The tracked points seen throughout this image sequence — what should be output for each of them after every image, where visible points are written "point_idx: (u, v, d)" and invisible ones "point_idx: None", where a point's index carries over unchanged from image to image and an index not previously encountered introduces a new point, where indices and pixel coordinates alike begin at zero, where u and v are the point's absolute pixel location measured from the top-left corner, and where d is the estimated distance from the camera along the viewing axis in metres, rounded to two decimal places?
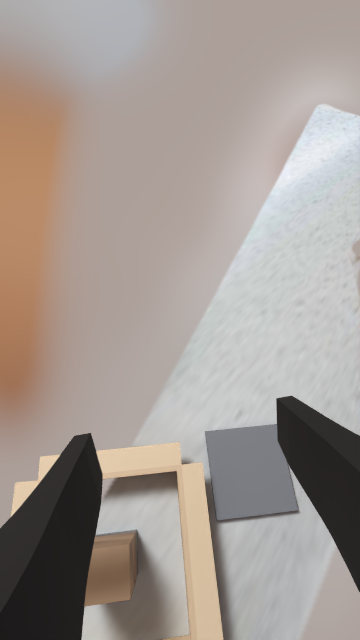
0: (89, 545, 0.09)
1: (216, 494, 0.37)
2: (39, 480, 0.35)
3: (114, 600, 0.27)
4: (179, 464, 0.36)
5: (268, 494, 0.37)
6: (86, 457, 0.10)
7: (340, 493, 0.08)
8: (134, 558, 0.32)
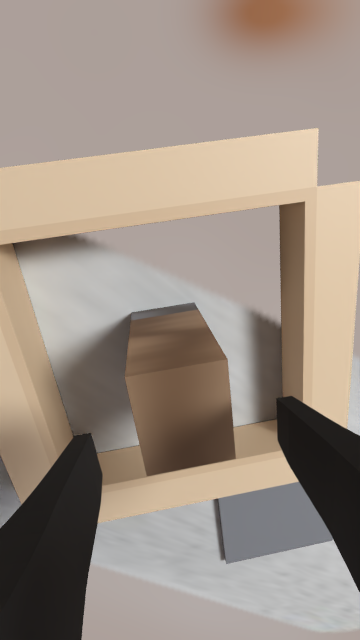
0: (89, 545, 0.09)
1: None
2: (316, 190, 0.15)
3: (143, 451, 0.13)
4: None
5: (246, 534, 0.26)
6: (86, 457, 0.10)
7: (340, 493, 0.08)
8: None
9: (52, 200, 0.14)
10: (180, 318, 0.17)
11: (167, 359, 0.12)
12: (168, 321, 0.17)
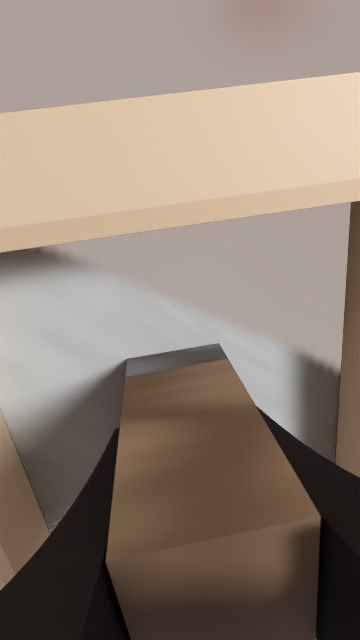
0: None
1: None
2: None
3: None
4: None
5: None
6: None
7: None
8: None
9: None
10: (202, 379, 0.11)
11: (194, 501, 0.06)
12: (184, 383, 0.10)
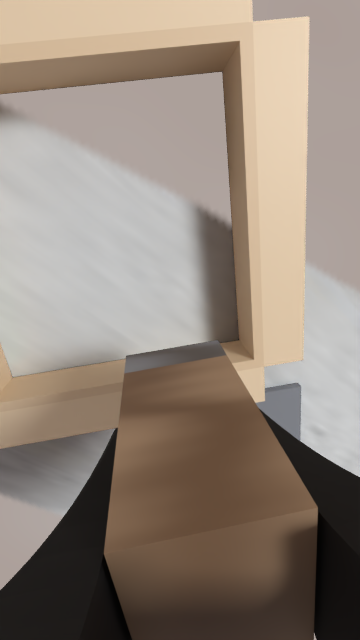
0: None
1: None
2: (252, 27, 0.13)
3: None
4: (264, 363, 0.18)
5: None
6: None
7: None
8: None
9: None
10: (201, 374, 0.11)
11: (192, 494, 0.06)
12: (183, 379, 0.10)
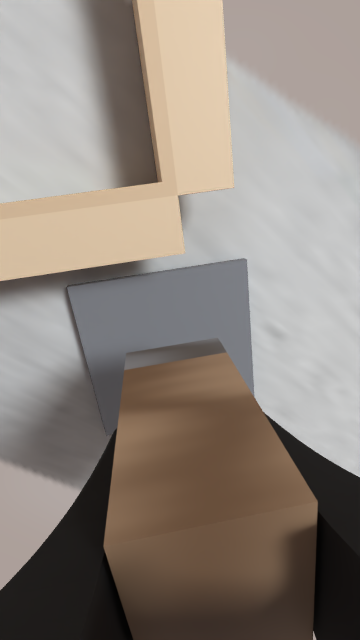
0: None
1: (117, 286, 0.17)
2: None
3: None
4: (178, 189, 0.13)
5: None
6: None
7: None
8: None
9: None
10: (201, 371, 0.11)
11: (192, 488, 0.06)
12: (183, 376, 0.10)
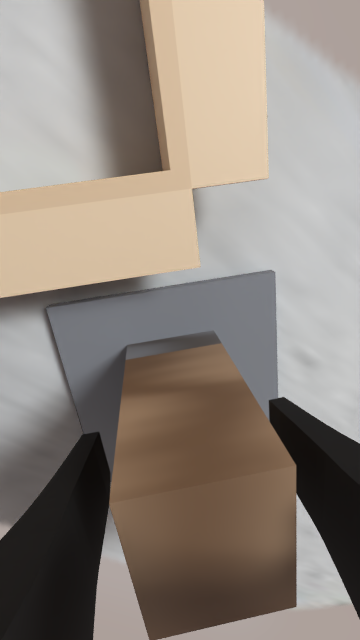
0: (99, 543, 0.09)
1: (110, 306, 0.13)
2: None
3: (144, 608, 0.07)
4: (192, 179, 0.09)
5: None
6: (95, 455, 0.10)
7: (329, 495, 0.08)
8: None
9: None
10: (197, 360, 0.11)
11: (186, 457, 0.07)
12: (180, 364, 0.11)
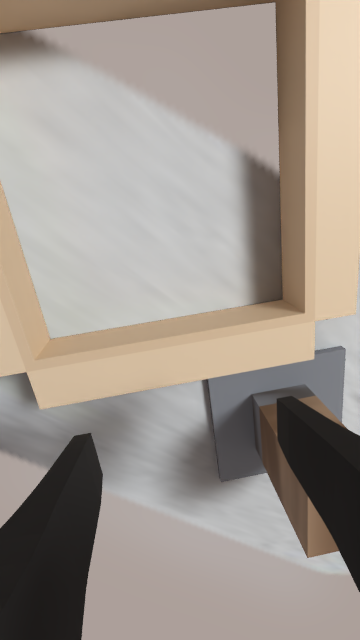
0: (89, 545, 0.09)
1: (245, 372, 0.21)
2: None
3: (309, 539, 0.16)
4: (315, 317, 0.18)
5: (242, 445, 0.23)
6: (86, 457, 0.10)
7: (340, 493, 0.08)
8: None
9: None
10: None
11: None
12: None
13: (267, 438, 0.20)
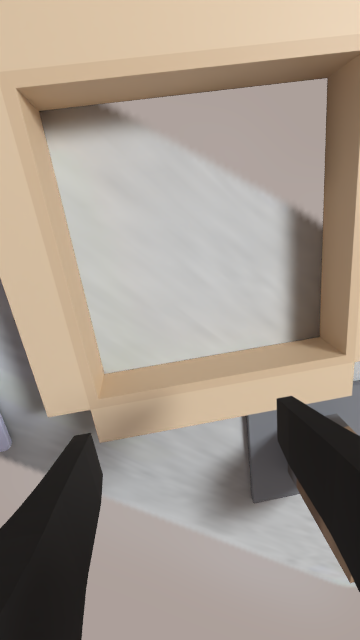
0: (89, 545, 0.09)
1: None
2: None
3: None
4: (355, 358, 0.19)
5: (276, 469, 0.25)
6: (86, 457, 0.10)
7: (340, 493, 0.08)
8: None
9: (91, 33, 0.12)
10: None
11: None
12: None
13: None
